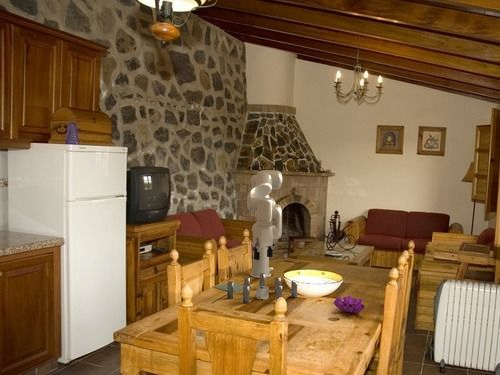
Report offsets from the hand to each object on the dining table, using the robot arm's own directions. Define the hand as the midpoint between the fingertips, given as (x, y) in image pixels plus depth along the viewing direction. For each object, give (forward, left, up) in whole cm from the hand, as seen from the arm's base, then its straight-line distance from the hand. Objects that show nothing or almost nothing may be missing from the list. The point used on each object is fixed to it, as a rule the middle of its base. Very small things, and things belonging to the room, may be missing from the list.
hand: (263, 258), depth 229 cm
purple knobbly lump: (-13, +41, -20) cm, 47 cm away
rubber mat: (-2, -23, -20) cm, 31 cm away
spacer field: (0, 0, -20) cm, 20 cm away
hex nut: (0, 0, -20) cm, 20 cm away
